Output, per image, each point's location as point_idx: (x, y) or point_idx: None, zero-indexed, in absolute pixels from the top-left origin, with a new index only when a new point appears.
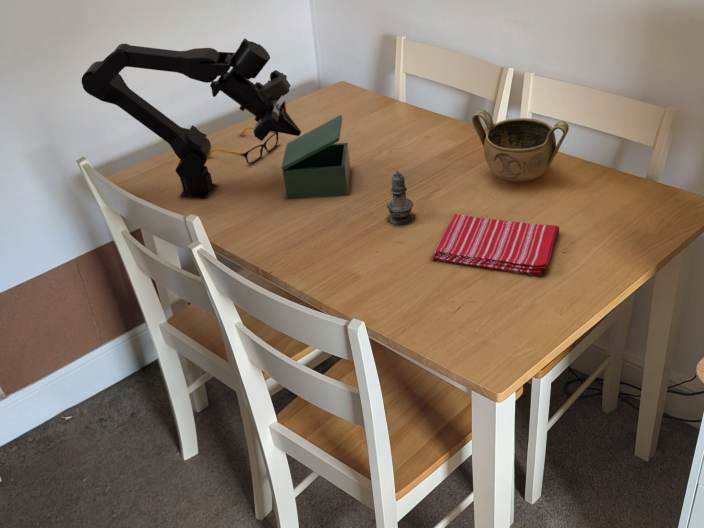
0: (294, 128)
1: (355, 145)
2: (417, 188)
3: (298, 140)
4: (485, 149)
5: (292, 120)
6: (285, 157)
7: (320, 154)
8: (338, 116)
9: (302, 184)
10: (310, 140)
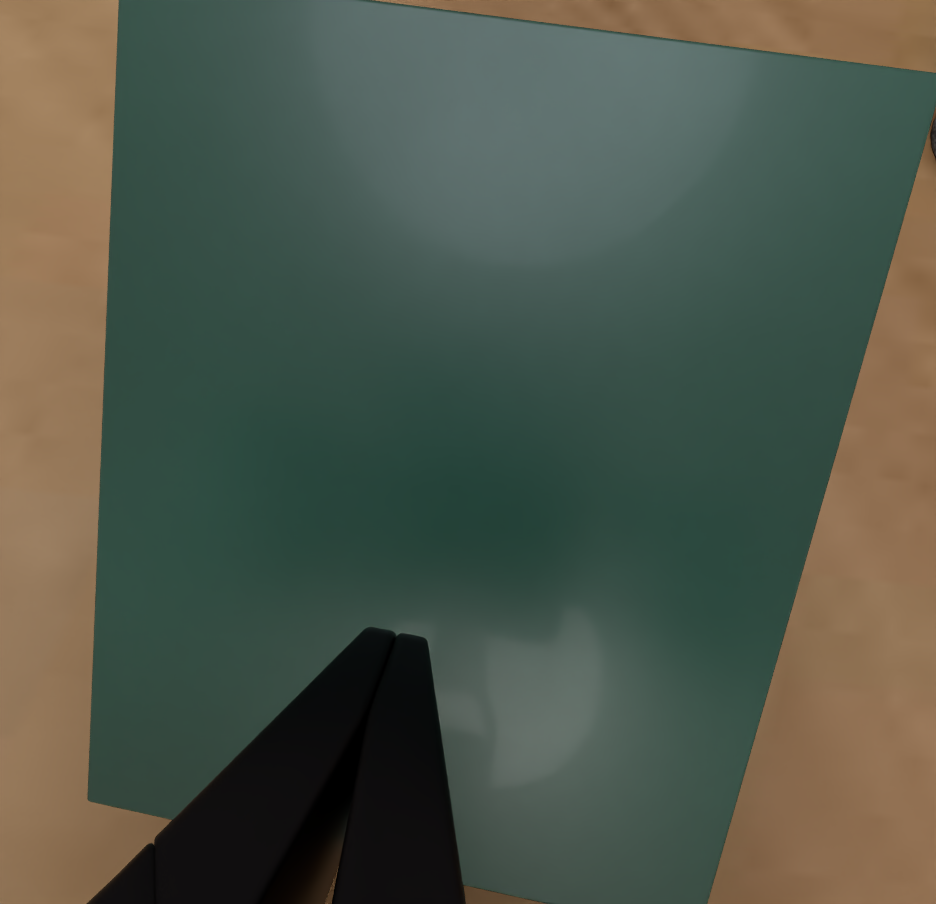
0: (447, 778)
1: (27, 259)
2: (681, 28)
3: (186, 664)
4: None
5: (186, 829)
6: (469, 860)
7: None
8: (142, 9)
9: None
10: (407, 512)
